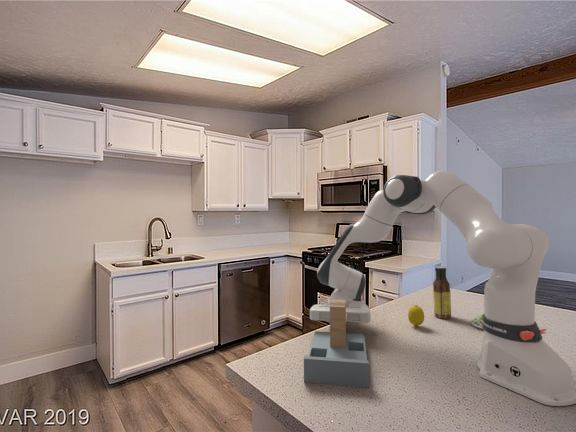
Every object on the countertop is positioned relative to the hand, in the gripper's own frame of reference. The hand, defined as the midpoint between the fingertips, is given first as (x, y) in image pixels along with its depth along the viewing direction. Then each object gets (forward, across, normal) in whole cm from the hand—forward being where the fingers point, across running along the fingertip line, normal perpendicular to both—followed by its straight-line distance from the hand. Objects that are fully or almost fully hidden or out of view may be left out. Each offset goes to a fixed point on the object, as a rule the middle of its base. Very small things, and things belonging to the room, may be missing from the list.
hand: (338, 321), depth 104 cm
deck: (+10, 0, +8) cm, 12 cm away
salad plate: (-26, +57, +9) cm, 63 cm away
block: (+4, 0, +5) cm, 6 cm away
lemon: (-21, +27, +8) cm, 35 cm away
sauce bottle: (-34, +39, +8) cm, 53 cm away
